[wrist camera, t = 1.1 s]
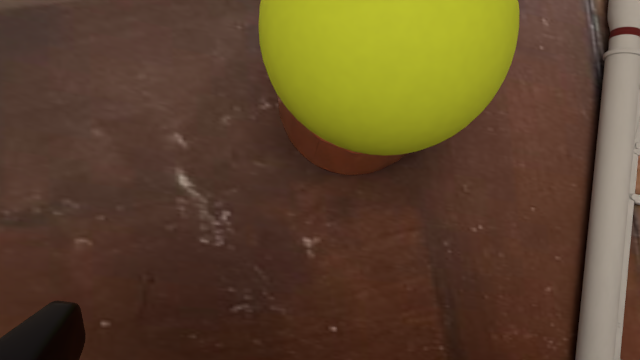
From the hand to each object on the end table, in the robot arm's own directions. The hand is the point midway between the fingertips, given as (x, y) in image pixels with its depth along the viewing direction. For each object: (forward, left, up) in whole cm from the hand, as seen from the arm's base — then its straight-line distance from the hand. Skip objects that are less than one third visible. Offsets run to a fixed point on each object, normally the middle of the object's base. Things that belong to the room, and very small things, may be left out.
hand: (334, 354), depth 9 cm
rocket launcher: (-12, -5, -12) cm, 18 cm away
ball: (-2, -8, -5) cm, 9 cm away
